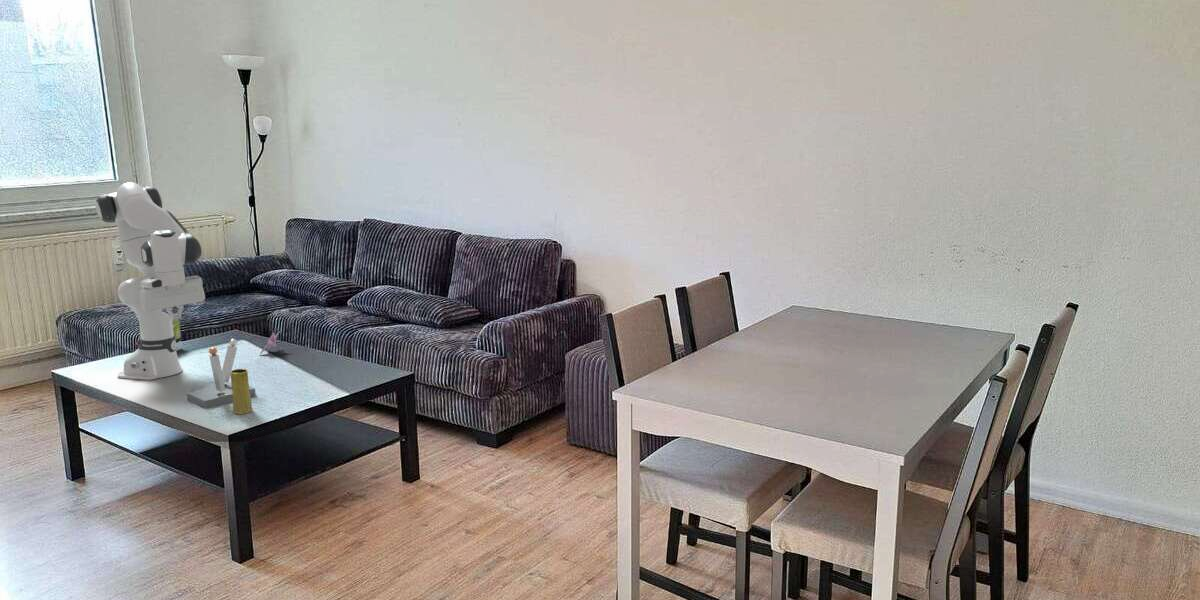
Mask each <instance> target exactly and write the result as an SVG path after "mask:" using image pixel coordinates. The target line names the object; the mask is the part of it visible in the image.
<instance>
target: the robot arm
mask: <svg viewBox="0 0 1200 600" xmlns="http://www.w3.org/2000/svg"><path fill="white" fill-rule="evenodd" d="M163 203H164V202H163V197H162V195H161V194H160V192H159V191H158V189H157V188H155V187H154V186H143V187H142V186H141V184H138V183H137V182H136V183H135V182H131V181H130V182H126V183H123V184H121V185H119V186H118V188H117V189H116V192H115V191H114V192H110V193H109V194H108V193H105V194H101V195H100V196H98V197H97V198H96V200H95V212H96V214H97V216H98V217H99V219H101V221H102V222H105V223H107V224H108V223H109V224H112V223H115V222H116V225H117V232H118V237H119V240H120V244H121V247H122V250H123V254H124V257H125V260H126V262H127V263H128V264H129V265H131V266H133V267H136V268H137V269H138V270H139V271H140V272H141V273H142V274H143V275H139V276H134V277H131V278H128V279H126V280H124V281H122V282H120V284H119V286H118V288H117V296H118V298H119V300H120V301H121V303H122V304H124V305H125V306H126V307H129V308H130V309H131V310H132V311H133V312H134V314H135V315H136V317H137V319H138V325H139V324H140V329H141V336H142V339H140V338H139V340H138V341H136V342H135V346H138V348H137V349H136V350H135V351H133V353H131V354H130V355H129V356H128V357H126V359H125V360H124V363H123V370H121V371H120V372H118V374H117V378H119V379H133V380H147V381H148V380H149V381H151V380H156V379H160V378H165V377H169V376H170V377H171V376H174V375H177V374H179V373H181V372H183V368H182V365H181V364H180V360H179V357H178V352H177V351H176V339H175V336H174V333H173V325H172V320H176V319H179V320H180V319H181V320H182V313H183V311H184V305H191V304H197V303H202V302H204V301H206V300H205V299H206V294H205V290H204V287H203V279H202V277H201V276H199V275H197V274H195V275H191V276H189V275H188V276H186V274H185V267H184V266H185V265H195V264H196V263H197V262H198V261H199V260H200V258H201V256H202V247H201V244H200V242H199V240H198V239H197V238H196V237H195V236H193V235H192V234H191V233H190V232H189V231H188V230H187V229H186V228H185V226H184V225H183V224H182V223H181V222H180V221H179V220H178V219H177V217H176V216H175V215H174V214H173V213H171V211H169V210H166V209H163ZM152 231H154V232H152ZM174 307H176V308H177V312H176V313H174V312H173V310H174V309H173V308H174ZM162 309H163V310H164V309H165V311H163V310H162Z"/></svg>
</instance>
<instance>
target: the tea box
mask: <svg viewBox="0 0 1200 600" xmlns="http://www.w3.org/2000/svg"><path fill="white" fill-rule="evenodd" d="M180 322H181V321H180V319H176V320H172V325H173V333H174V336H175V339H176V352H177V351H180V350H182V349H183V346H182V345H183V344H182V335H181V334H182V333H181V325H180ZM138 331H139V340H140V339H142V336H141V329H140V324H139V323H138Z"/></svg>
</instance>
